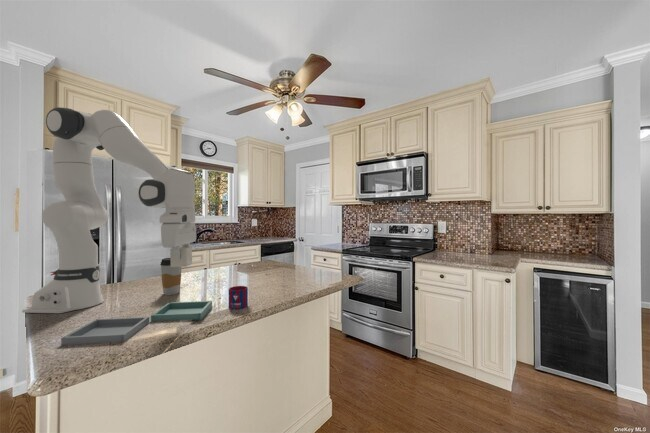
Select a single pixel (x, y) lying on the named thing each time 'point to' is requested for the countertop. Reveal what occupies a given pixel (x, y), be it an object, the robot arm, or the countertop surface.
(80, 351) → the countertop surface
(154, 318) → the bin
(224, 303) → the countertop surface
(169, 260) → the coffee cup
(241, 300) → the cup
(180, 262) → the stone block
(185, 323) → the countertop surface
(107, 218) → the robot arm
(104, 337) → the bin
